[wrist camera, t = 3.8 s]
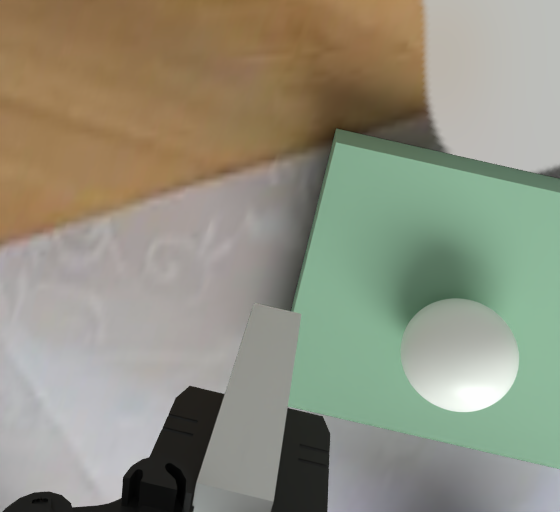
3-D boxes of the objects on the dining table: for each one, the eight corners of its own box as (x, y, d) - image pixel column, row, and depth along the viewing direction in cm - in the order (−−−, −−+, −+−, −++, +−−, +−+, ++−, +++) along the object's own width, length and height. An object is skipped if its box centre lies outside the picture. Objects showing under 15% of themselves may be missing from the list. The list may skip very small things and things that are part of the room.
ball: (382, 352, 20) (392, 422, 17) (412, 268, 19) (431, 327, 15) (477, 373, 20) (506, 448, 17) (516, 292, 19) (558, 356, 15)
